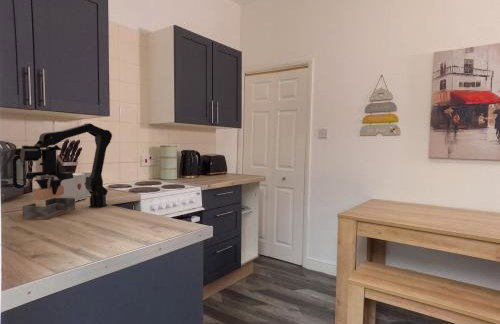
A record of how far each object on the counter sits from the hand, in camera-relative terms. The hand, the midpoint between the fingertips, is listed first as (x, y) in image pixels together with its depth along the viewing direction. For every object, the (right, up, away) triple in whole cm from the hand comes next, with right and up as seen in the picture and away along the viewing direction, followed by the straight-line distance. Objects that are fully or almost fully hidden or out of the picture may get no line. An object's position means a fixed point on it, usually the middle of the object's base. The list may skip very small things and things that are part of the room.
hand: (50, 194), depth 142 cm
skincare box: (-6, -6, +46) cm, 47 cm away
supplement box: (-7, -7, +31) cm, 33 cm away
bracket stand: (0, -9, +1) cm, 9 cm away
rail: (0, -1, 0) cm, 1 cm away
